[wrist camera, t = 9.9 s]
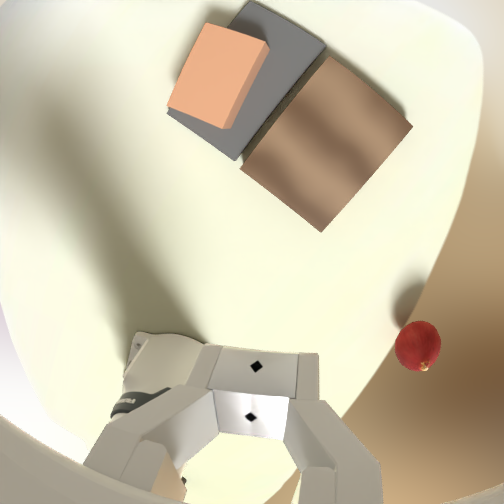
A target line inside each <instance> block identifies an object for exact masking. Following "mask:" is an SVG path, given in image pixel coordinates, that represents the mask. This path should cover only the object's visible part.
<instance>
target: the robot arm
mask: <svg viewBox="0 0 504 504" xmlns="http://www.w3.org/2000/svg"><path fill="white" fill-rule="evenodd" d="M123 378H124V381H123V389H122V396H121V398H120V399H119V401H117V402H116V404H115V406H114V408H113V411H112V413H111V420H110V422H109V423H108V424H107V425H106V426H105V428H104V430H103V431H102V433H101V435H100V436H99V438H98V439H97V441H96V443H95V444H94V446H93V448H92V449H91V451H90V453H89V455H88V456H87V458H86V460H85V461H84V463H83V465H82V464H80V463H78V462H76V461H74V460H72V459H70V458H68V457H66V456H64V455H62V454H61V453H59V452H57V451H55V450H54V449H52V448H50V447H48V446H46V445H45V444H43V443H42V442H40V441H38V440H37V439H35V438H34V437H32V436H30V435H29V434H27V433H26V432H24V431H23V430H21V429H20V428H18V427H17V426H15V425H14V424H13V423H11V422H10V421H8V420H7V419H6V418H4V417H3V416H1V415H0V504H189V503H185V502H183V501H184V498H185V495H186V492H187V489H186V487H185V485H184V484H183V482H182V480H181V478H182V475H183V472H184V470H185V467H186V464H187V462H188V460H189V459H191V458H192V457H193V456H194V455H195V454H197V453H198V452H199V451H200V450H201V449H202V448H204V447H205V446H206V445H207V444H208V443H209V442H211V441H212V440H213V439H214V438H215V437H216V436H217V435H218V434H219V432H222V433H230V434H238V435H247V436H255V437H262V438H271V439H280V440H283V442H284V444H285V446H286V448H287V449H288V451H289V453H290V455H291V457H292V458H293V460H294V462H295V464H296V466H297V467H298V469H299V471H300V473H301V476H300V479H299V482H298V485H297V488H296V491H295V494H294V496H293V499H292V502H291V504H383V491H382V479H381V478H382V477H381V467H380V463H379V462H378V461H377V460H376V459H375V457H374V456H373V455H372V454H371V453H370V452H369V451H368V450H367V448H366V447H365V446H364V445H363V444H362V443H361V442H360V440H359V439H358V438H357V437H356V436H355V435H354V434H353V432H352V431H351V430H350V429H349V428H348V427H347V426H346V424H345V423H344V422H343V421H342V420H341V418H340V417H339V416H338V415H337V414H336V413H335V411H334V410H333V409H332V408H331V407H330V406H329V404H328V403H327V402H326V401H325V400H319V355H318V353H299V354H298V353H293V352H277V351H264V350H254V349H246V348H238V347H231V346H221V345H215V344H208V343H206V344H205V345H204V344H202V343H200V342H198V341H196V340H194V339H192V338H189V337H186V336H182V335H178V334H158V335H153V334H149V333H145V332H136V334H135V336H134V337H133V341H132V345H131V350H130V354H129V358H128V363H127V367H126V371H125V373H124V374H123ZM442 504H504V483H502V484H500V485H497V486H495V487H492V488H490V489H487V490H484V491H482V492H479V493H476V494H473V495H470V496H467V497H464V498H460V499H457V500H453V501H450V502H446V503H442Z"/></svg>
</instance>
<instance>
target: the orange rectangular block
mask: <svg viewBox="0 0 504 504" xmlns="http://www.w3.org/2000/svg"><path fill="white" fill-rule="evenodd" d="M269 51H270V49H269V47H268V45H267V43H266V42H265V41H262V40H260V39H257V38H254V37H251V36H248V35H245V34H242V33H239V32H236V31H233V30H230V29H227V28H224V27H220V26H217V25H213V24H210V23H205V25H204V27H203V29H202V30H201V32H200V34H199V36H198V38H197V40H196V42H195V44H194V46H193V48H192V50H191V52H190V54H189V56H188V58H187V60H186V63H185V65H184V67H183V69H182V71H181V73H180V76H179V78H178V80H177V82H176V85H175V87H174V89H173V91H172V94H171V96H170V99H169V101H168V103H167V106H168V107H171V108H173V109H176V110H178V111H181V112H183V113H186V114H188V115H191V116H193V117H195V118H198V119H200V120H203V121H205V122H207V123H210V124H212V125H214V126H216V127H219V128H221V129H230V128H231V127H232V125H233V123H234V120H235V118H236V116H237V114H238V112H239V110H240V108H241V106H242V104H243V102H244V100H245V98H246V96H247V94H248V92H249V89H250V87H251V86H252V84H253V82H254V80H255V78H256V76H257V74H258V72H259V70H260V68H261V66H262V64H263V62H264V60H265V58H266V56H267V55H268V53H269Z"/></svg>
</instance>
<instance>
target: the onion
mask: <svg viewBox="0 0 504 504" xmlns="http://www.w3.org/2000/svg"><path fill="white" fill-rule="evenodd" d="M440 347H441V339H440V336H439V334H438V332H437V330H436V328H435V327H434V326H433V325H431V324H430V323H428V322H425V321H416V322H412V323H411V324H409V325H407V326H405V327H404V328H403V329H402V330H401V331H400V333H399V335H398V336H397V338H396V341H395V353H396V355H397V358H398V360H399V361H400V363H401V364H402V365H403V366H405V367H406V368H408V369H409V370H414V371H426V370H428V368H429V367H430V366H431V365H432V364H433V363H434V362H435V361H436V359H437V357H438V355H439V353H440Z"/></svg>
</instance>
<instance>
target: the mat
mask: <svg viewBox="0 0 504 504" xmlns="http://www.w3.org/2000/svg"><path fill="white" fill-rule="evenodd" d="M227 29H230V30H233V31H236V32H239V33H242V34H245V35H248V36H251V37H254V38H257V39H260V40H262V41H265V42H266V43H267V45H268V47H269V49H270V51H269V53H268V55H267V56H266V58H265V60H264V62H263V64H262V66H261V68H260V70H259V72H258V74H257V76H256V78H255V80H254V82H253V84H252V86H251V87H250V89H249V92H248V94H247V96H246V98H245V100H244V102H243V104H242V106H241V108H240V110H239V112H238V114H237V116H236V118H235V120H234V123H233V125H232V127H231V128H230V129H221V128H219V127H216V126H214V125H212V124H210V123H207V122H205V121H203V120H200V119H198V118H195V117H193V116H191V115H188V114H186V113H183V112H181V111H178V110H176V109H173V108H171V107H170V109H169V110H168V112H167V114H168V115H169V116H171V117H172V118H174V119H175V120H177V121H178V122H180V123H181V124H183V125H184V126H186V127H187V128H188V129H190V130H191V131H193V132H194V133H196V134H197V135H198V136H200V137H201V138H203V139H204V140H206V141H207V142H208V143H210V144H211V145H213V146H214V147H215V148H217V149H218V150H220V151H221V152H222V153H224V154H225V155H226V156H228V157H229V158H231V159H232V160H233V161H236V160H237V159H238V157H239V156H240V154H241V153H242V152H243V150H244V149H245V148H246V146H247V145H248V144H249V142H250V141H251V140H252V138H253V137H254V136H255V134H256V133H257V132H258V130H259V129H260V128H261V126H262V125H263V124H264V122H265V121H266V120H267V119H268V117H269V116H270V115H271V113H272V112H273V111H274V110H275V108H276V107H277V106H278V105H279V103H280V102H281V101H282V99H283V98H284V97H285V96H286V94H287V93H288V92H289V91H290V89H291V88H292V87H293V86H294V85H295V83H296V82H297V81H298V80H299V78H300V77H301V76H302V75H303V74H304V72H305V71H306V70H307V69H308V68H309V66H310V65H311V64H312V63H313V62H314V61H315V59H316V58H317V57H318V56H319V55H320V54H321V52H322V51H323V50H324V49H325V48H326V45H325V44H324V43H322V42H321V41H319V40H318V39H316V38H315V37H313V36H312V35H310V34H308V33H307V32H305V31H304V30H302V29H301V28H299V27H297V26H296V25H294V24H292V23H291V22H289V21H287V20H285V19H284V18H282V17H280V16H278V15H277V14H275V13H273V12H271V11H269V10H267V9H266V8H264V7H262V6H260V5H258V4H256V3H254V2H252V1H249V2H248V4H247V5H246V6H245V7H244V8H243V9H242V10H241V12H240V13H239V14H238V15H237V16H236V17H235V19H234V20H233V21H232V22H231V23H230V25H229V26H228V27H227Z"/></svg>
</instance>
